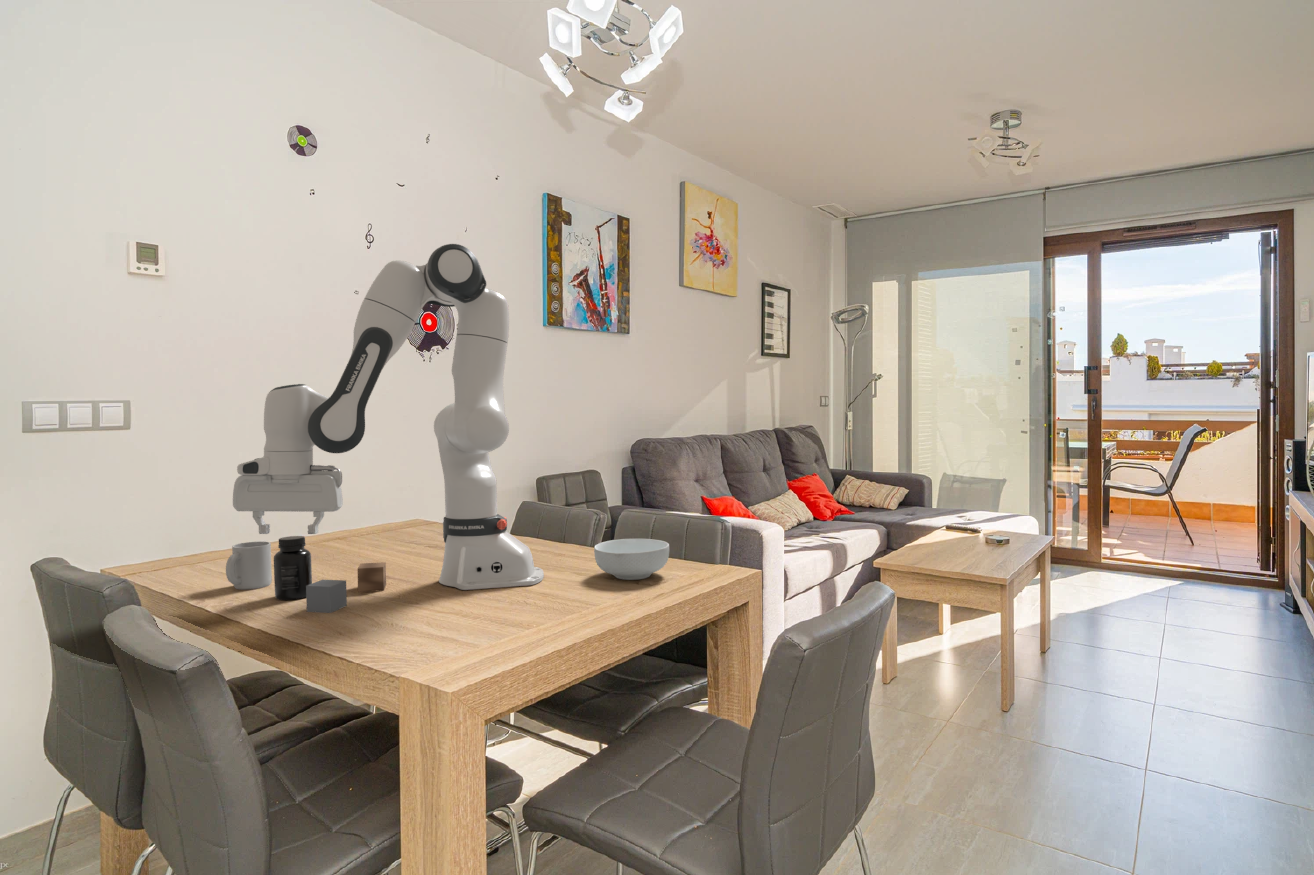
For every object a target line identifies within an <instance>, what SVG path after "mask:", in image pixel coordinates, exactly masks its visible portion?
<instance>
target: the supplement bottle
mask: <svg viewBox="0 0 1314 875" xmlns="http://www.w3.org/2000/svg"><path fill="white" fill-rule="evenodd" d="M306 546H307V545H306V537H305V536H304V535H291V536H284V537H280V538H278V546H277V547H278V549H279V550H278V551H277V552H276V553H275V554H274V556H273V577H274V580H273V581H274V597H275V598H276V600H280V601H294V600H300V599H304V598H306V586H307V585H310V584H312V583H313V577H312V576H313V574H312V572H313V570H312V569H313V568H312V554H311V551H309V549H307V548H305V547H306Z"/></svg>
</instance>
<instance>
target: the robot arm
mask: <svg viewBox="0 0 1314 875" xmlns="http://www.w3.org/2000/svg"><path fill="white" fill-rule="evenodd" d="M426 304H428V305H436V306H441V307H445V308H446V307H447V308H448V307H449V308H452V307H455V309H456V311H457V313H458V314H457V315H458V317H457V318H458V322H457V323H458V324H457V329H456V336H455V343H454V348H453V349H454V350H453V357H452V364H451V374H452V375H451V376H452V378H453V386H454V387H453V388H454V402H453V403H450V404H449V405H446V406H445V407H443V409H441V410H440V411H439V412H438V413H437V415H436V417H435V418H434V422H433V432H434V434H435V435H434V436H435V437H436V439H437V446H438V451H439V457H440V463H441V467H442V473H443V480H444V506H445V507H444V508H445V510H444V513H445V515H444V516H443V522H442V538H443V542H444V553H443V562H442V566H441V571H440V572H441V573H440V576H439V579H438V583H440V584H441V585H444V586H448V587H453V588H457V589H458V590H463V591H467V590H468V591H469V590H481V589H482V590H483V589H493V588H494V589H496V588H507V587H508V588H509V587H519V586H520V587H522V586H533V585H536V584H538V583H540V582H542V580H544V577H545V574H544V569H542V568H541V567H537V566H535V564H534V559H533V554H532V552H531V549H530V547H529V546H528V545H526V544H525V543H523V542H522V541H520V540H519V539H518V538H517V537H515V536H514V535H513V534H511V533H510V532H509V531H507V530H508V523H507V522H508V520H507V517H506V516H502V515H501V514H498V487H497V486H498V485H497V484H498V482H497V477H496V475H495V473H494V470H493V466H492V462H491V458H490V453H492V451H495V450H496V449H499V448H500V447H501V446H503V444H505V442H506V441H507V439H508V436H509V432H510V424H509V419H508V418H507V415H506V410H505V409H506V408H505V393H504V377H505V376H504V375H505V364H506V359H507V351H508V343H509V336H510V335H509V332H510V309H509V302H508V300H507V298H506V297H505V296H504V295H502V294H501V293H499V292H498V291H495V290H494V289H490V288H487V281H486V277H485V275H484V273H483V271H482V268H481V265H480V263H479V260H478V258H477V256H476V255H475V254H474V253H473V251H471V250H470V249H469V248H468V247H466V246H465V245H461V244H457V243H448V244H444V245H441V246H440V247H438V248H436V249H435V250H434V251H433V252H432V253H431V254H430V256H429V258H428V260H427V263H425V264H423V265H415V264H414V263H411V262H408V261H405V260H392V261H389V262H388V263H386V264H385V265H384V266H383V268H382V269H381V270H380V272H379V273H378V274H377V276H376V277H375V279H374V281H373V282H372V283H371V286H370V287H369V288H368V290H367V292H366V294H365V296H364V298H363V300H362V303H361V305H360V306H359V309H358V312H357V316H356V319H355V323H354V326H353V342H352V343H353V344H352V349H351V350H352V351H351V354H350V357H349V360H348V361H347V364H346V366H345V369H344V370H343V373H342V374H341V376H340V378H339V381H338V383H337V385H336V387H335V389H334V391H333V392H332V394H330V396H326V395H325V394H322V393H320V392H319V391H316V390H314V389H313V388H312V387H310V385H308V384H304V383H298V384H294V383H293V384H288V385H281V386H277V387H274V388H272V389H271V390H270V391H268V393H267V394H266V397H265V400H264V401H265V402H264V410H263V430H264V433H265V434H264V435H265V443H264V447H263V456H262V457H259V458H255V459H252V460H249V461H245V462H241V463H239V464H238V465H237V467H236V468H237V469H236V471H237V474H238V475H239V476H238V477H236V479H235V482H234V484H233V491H232V506H233V508H234V510H236V511H237V512H252V518H253V520H254V521H255V523H256V525H257V526H258V534H259V535H268V534H270V533H271V529H270V528H271V524H270V523H266V521H265V520H264V516H265V512H290V513H292V512H293V513H294V512H300V513H301V512H306V513H307V512H309V513H311V512H312V513H313V514H312V517H313V518H315V519H314V520H313V523H310V524H308V525H307V534H308V535H317V534H318V533H319V525H320V524H321V522H322V520H323V518H324V517H325V512H330V513H332V512H337V511H339V510H340V509H341V508H342V507H343V505H344V504H343V503H344V502H343V493H342V492H343V491H342V486H341V485H342V483H343V472H342V471H341V469H339V468H337V467H336V466H335V465H332V464H331V465H320V464H317V465H315V464H314V461H313V460H314V446H316V447H317V448H319V449H320V450H321V451H324V452H326V453H329V454H342V453H348V452H349V451H351V450H353V449H354V448H356V447H357V446H358V445H359V444H360V443H361V441H362V440H363V437H364V435H365V432H366V408H367V406H368V405H367V404H368V402H369V399H370V396H371V395H372V393H373V390H374V388H375V386H376V384H377V382H378V379H379V378H380V374H381V373H382V371H383V369H384V368H385V366H386V365H387V363H388V362H389V361H390V360H391V359H392V358H393V357H394V356H395V355H396V353H398V351H399V350H400V349H401V347H402V346H403V345H404V344H405V343H406V341H407V339H408V337H409V336H410V334H411V332H412V330H413V329H414V326H415V324H416V322H417V320H418V318H419V315H420V313H421V311H422V309H423V308H424V307H425V305H426Z"/></svg>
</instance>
